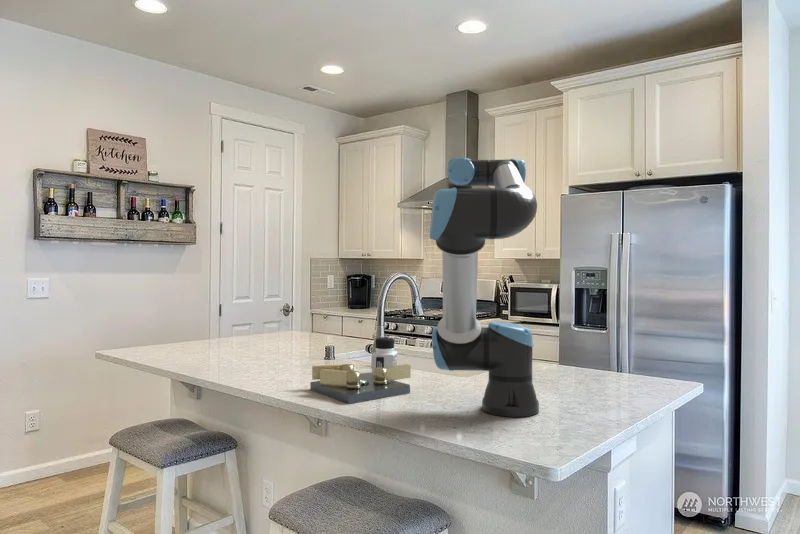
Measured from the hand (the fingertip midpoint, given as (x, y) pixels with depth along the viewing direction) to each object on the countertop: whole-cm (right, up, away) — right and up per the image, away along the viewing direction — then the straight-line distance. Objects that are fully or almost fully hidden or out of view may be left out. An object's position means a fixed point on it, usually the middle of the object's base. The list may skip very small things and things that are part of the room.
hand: (459, 286), depth 180 cm
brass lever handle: (-39, -30, +4) cm, 49 cm away
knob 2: (-21, -30, +2) cm, 36 cm away
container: (-24, -32, +26) cm, 48 cm away
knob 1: (-36, -30, -5) cm, 47 cm away
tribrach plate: (-31, -32, -1) cm, 45 cm away
